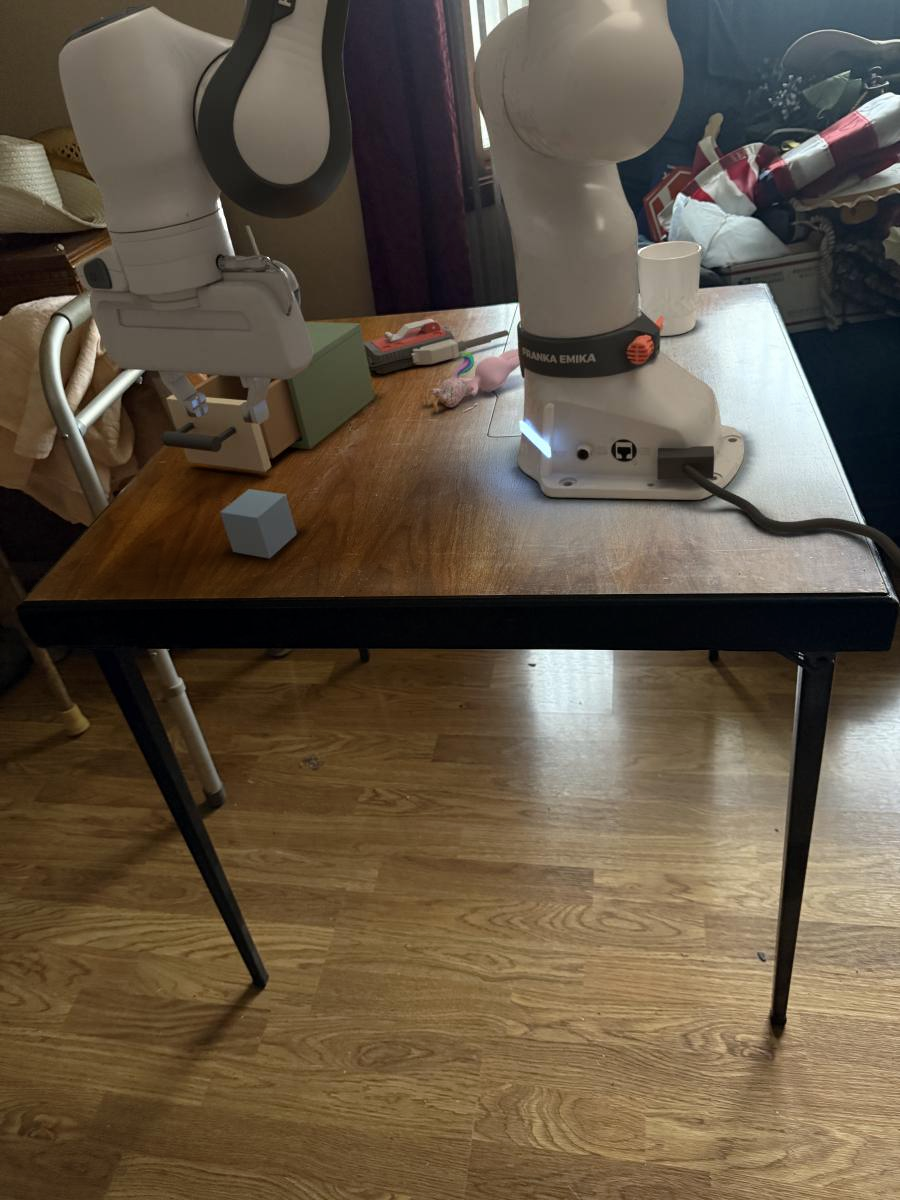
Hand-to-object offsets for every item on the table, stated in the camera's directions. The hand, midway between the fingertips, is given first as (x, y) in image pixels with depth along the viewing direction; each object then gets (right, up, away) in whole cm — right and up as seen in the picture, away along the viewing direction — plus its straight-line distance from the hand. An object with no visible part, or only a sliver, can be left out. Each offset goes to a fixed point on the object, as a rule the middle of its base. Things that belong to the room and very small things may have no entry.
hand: (227, 418), depth 77 cm
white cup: (+49, +20, +40) cm, 66 cm away
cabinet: (+1, +7, +32) cm, 32 cm away
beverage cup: (-2, +15, +44) cm, 47 cm away
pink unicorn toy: (+24, +9, +30) cm, 40 cm away
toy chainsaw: (+17, +18, +44) cm, 50 cm away
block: (+2, -11, +7) cm, 13 cm away
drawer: (-3, +1, +24) cm, 24 cm away
